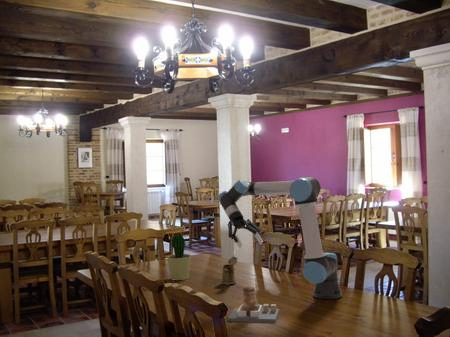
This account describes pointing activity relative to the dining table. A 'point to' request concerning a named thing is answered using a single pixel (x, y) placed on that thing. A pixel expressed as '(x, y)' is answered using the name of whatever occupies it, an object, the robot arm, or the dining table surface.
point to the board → (255, 314)
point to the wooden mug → (229, 272)
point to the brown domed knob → (249, 299)
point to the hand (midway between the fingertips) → (251, 244)
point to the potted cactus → (179, 259)
